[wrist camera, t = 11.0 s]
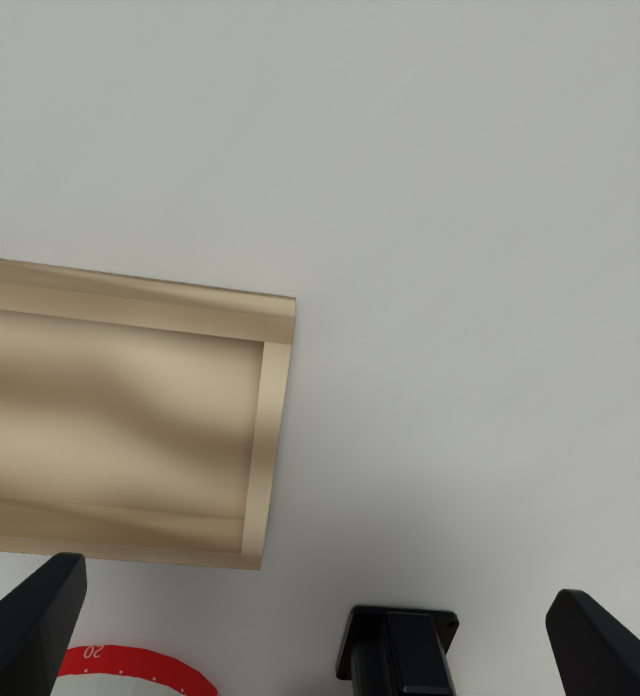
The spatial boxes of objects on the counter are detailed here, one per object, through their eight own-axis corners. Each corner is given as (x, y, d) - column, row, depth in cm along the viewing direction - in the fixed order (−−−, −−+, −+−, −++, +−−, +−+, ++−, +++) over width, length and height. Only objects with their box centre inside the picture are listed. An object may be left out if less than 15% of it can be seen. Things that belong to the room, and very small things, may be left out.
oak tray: (263, 529, 24) (260, 570, 22) (-17, 506, 23) (-53, 547, 20) (295, 297, 19) (295, 320, 16) (-70, 249, 17) (-126, 266, 15)
